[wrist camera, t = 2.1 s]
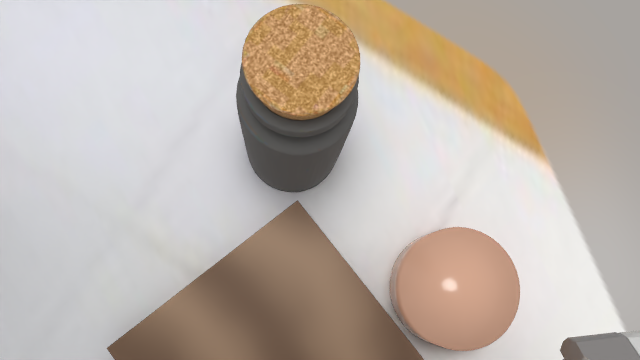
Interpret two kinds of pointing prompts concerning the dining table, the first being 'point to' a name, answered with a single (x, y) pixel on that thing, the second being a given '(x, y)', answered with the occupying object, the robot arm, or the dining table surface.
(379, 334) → the board
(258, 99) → the bottle
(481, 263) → the peach dome knob
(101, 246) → the dining table surface
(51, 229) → the dining table surface
